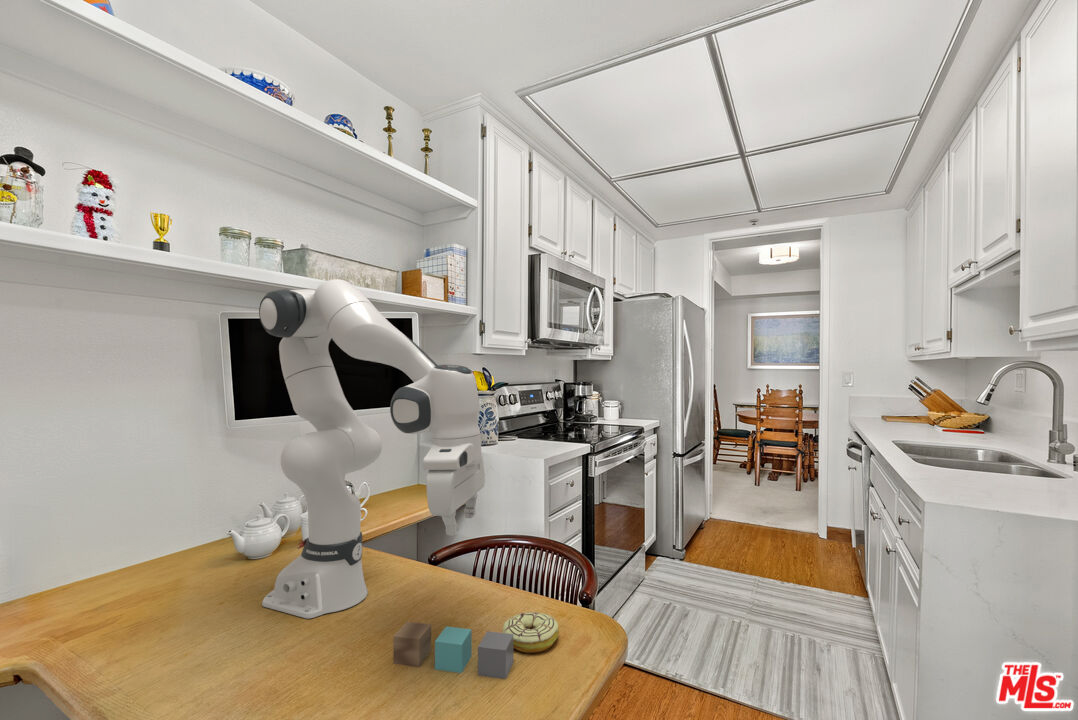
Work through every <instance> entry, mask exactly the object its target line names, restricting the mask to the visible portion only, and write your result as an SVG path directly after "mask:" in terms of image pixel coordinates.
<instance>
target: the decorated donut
mask: <svg viewBox="0 0 1078 720" xmlns="http://www.w3.org/2000/svg"><path fill="white" fill-rule="evenodd" d="M559 632H560V631H559V622H558V621H557V620H556V619H555V617H553V616H551V615H549V614H547V613H542V612H537V611H535V612H534V611H533V612H531V611H529V612H521V613H519V614H515V615H513V616H512V617H509V618H508V619H507V620H506V621H505V622H504V624H503V626H502V633H507V634H513V649H515V650H516V651H518V652H521V653H527V654H528V653H530V654H531V653H541V652H544V651H546V650H548V649H549V648H551V647H553V645H554V643H555V642H556V640H557V639H558V637H559Z"/></svg>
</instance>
